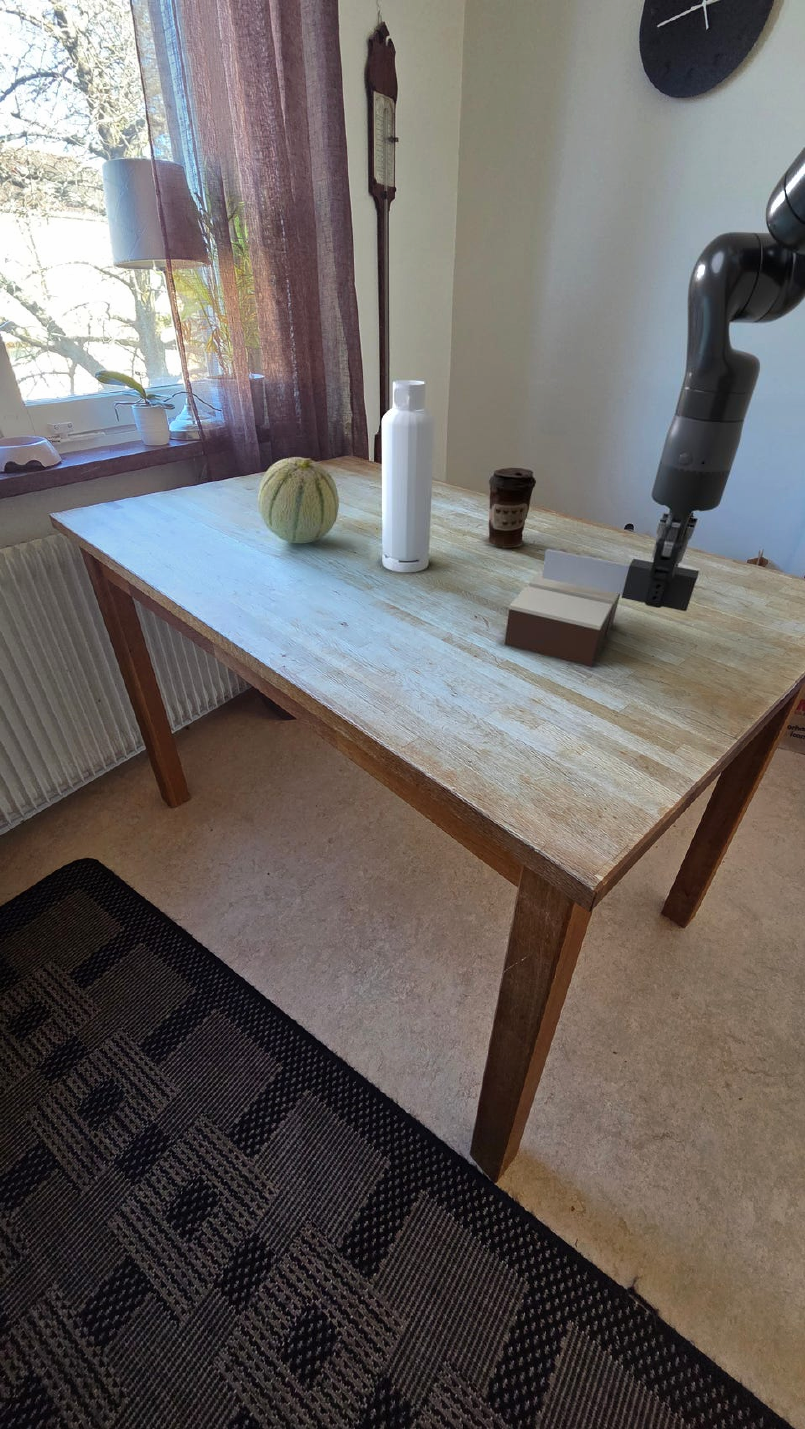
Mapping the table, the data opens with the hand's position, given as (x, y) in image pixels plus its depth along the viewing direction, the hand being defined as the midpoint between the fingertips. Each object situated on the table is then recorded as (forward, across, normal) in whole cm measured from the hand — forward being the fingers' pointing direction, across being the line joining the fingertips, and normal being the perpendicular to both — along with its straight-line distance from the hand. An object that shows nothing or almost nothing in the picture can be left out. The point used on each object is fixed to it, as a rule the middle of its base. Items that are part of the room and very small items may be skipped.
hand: (655, 600), depth 78 cm
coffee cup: (+8, +29, +30) cm, 43 cm away
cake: (+7, -4, +11) cm, 14 cm away
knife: (0, 0, +6) cm, 6 cm away
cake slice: (+8, +3, +11) cm, 14 cm away
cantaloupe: (+8, +11, +64) cm, 65 cm away
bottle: (+8, +11, +42) cm, 44 cm away
